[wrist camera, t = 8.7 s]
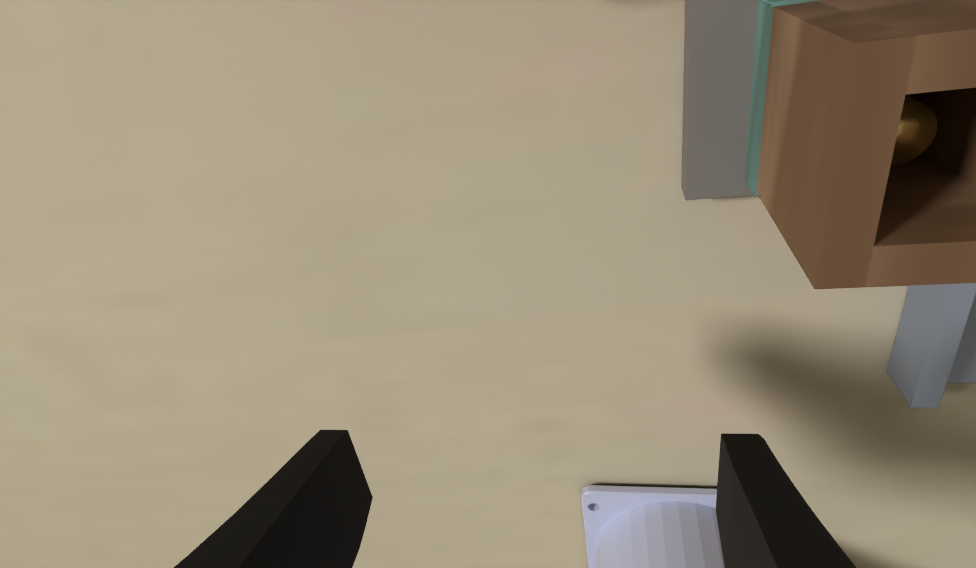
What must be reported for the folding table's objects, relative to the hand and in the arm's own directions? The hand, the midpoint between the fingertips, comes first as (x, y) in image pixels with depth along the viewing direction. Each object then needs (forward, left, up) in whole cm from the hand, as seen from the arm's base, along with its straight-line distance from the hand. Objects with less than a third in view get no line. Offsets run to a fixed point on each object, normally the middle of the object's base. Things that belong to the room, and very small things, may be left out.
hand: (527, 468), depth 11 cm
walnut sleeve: (+4, -8, -9) cm, 13 cm away
